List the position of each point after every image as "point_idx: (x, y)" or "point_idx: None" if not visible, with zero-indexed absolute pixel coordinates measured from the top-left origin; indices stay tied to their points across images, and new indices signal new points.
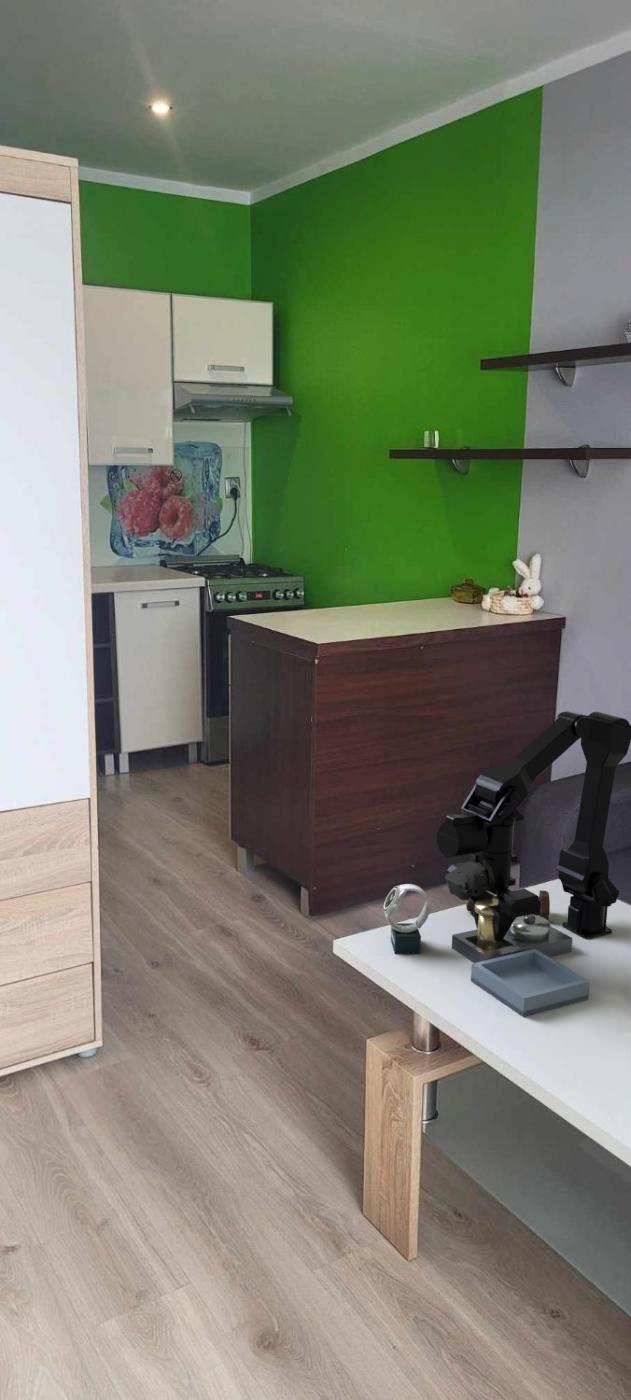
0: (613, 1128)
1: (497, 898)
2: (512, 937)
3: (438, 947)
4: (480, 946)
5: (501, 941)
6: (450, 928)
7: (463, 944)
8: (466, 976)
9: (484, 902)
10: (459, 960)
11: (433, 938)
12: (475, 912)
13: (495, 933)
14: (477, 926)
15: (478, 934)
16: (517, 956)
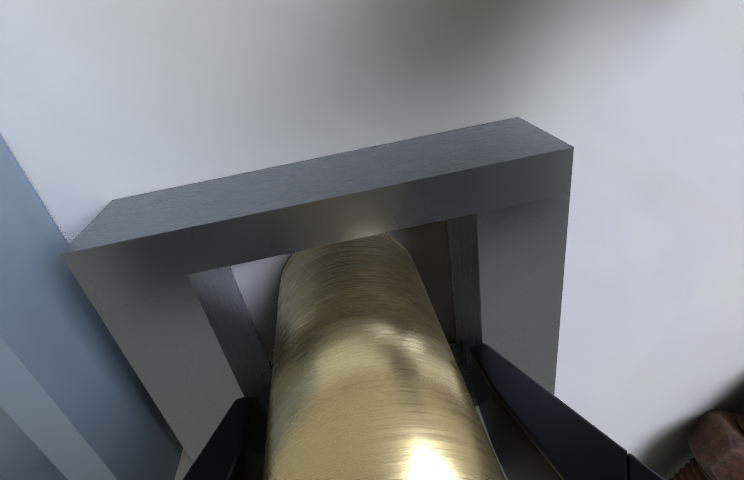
0: None
1: None
2: None
3: (574, 26)
4: (330, 276)
5: None
6: (735, 226)
7: (407, 172)
8: (24, 5)
9: None
10: (328, 86)
11: (705, 60)
12: (571, 475)
13: (224, 455)
14: (488, 365)
15: (375, 324)
16: (34, 437)
